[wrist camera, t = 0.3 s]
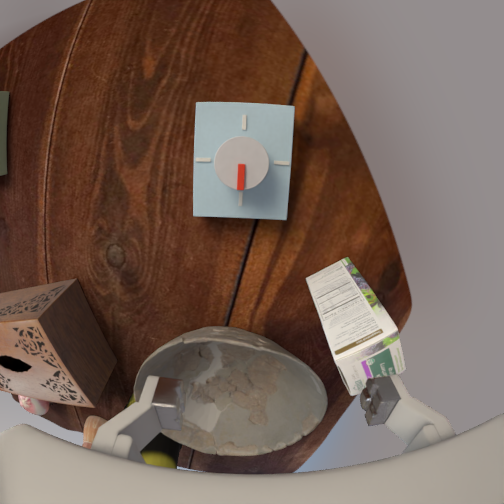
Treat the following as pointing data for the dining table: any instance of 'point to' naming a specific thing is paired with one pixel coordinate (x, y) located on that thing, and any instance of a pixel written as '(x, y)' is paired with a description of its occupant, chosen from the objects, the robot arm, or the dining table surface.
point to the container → (159, 448)
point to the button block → (3, 131)
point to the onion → (34, 405)
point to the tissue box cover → (53, 345)
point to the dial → (241, 163)
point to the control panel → (249, 125)
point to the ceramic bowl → (237, 391)
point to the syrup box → (355, 326)
